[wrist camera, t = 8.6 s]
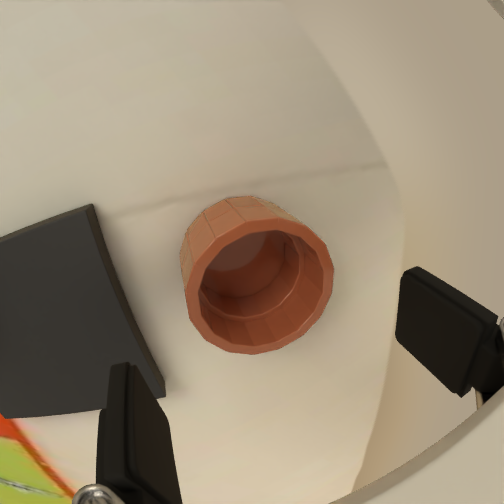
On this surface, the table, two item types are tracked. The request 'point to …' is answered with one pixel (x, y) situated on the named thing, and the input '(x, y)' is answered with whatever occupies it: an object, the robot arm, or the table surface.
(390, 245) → the table surface
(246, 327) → the small bowl
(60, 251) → the scale
